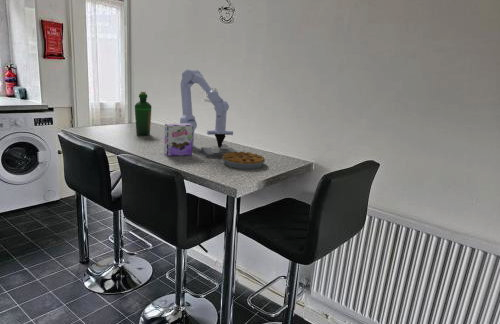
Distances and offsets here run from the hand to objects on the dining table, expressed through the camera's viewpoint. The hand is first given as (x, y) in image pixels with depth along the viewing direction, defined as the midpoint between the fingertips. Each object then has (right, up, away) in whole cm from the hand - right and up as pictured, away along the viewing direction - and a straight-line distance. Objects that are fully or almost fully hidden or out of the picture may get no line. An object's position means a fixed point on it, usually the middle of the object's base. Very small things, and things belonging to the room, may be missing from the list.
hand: (219, 147), depth 193 cm
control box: (+1, -4, -4) cm, 5 cm away
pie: (+14, -10, -20) cm, 26 cm away
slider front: (-2, -3, -10) cm, 10 cm away
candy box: (-21, -5, -12) cm, 24 cm away
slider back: (+2, -1, +1) cm, 3 cm away
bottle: (-53, +9, +32) cm, 63 cm away
